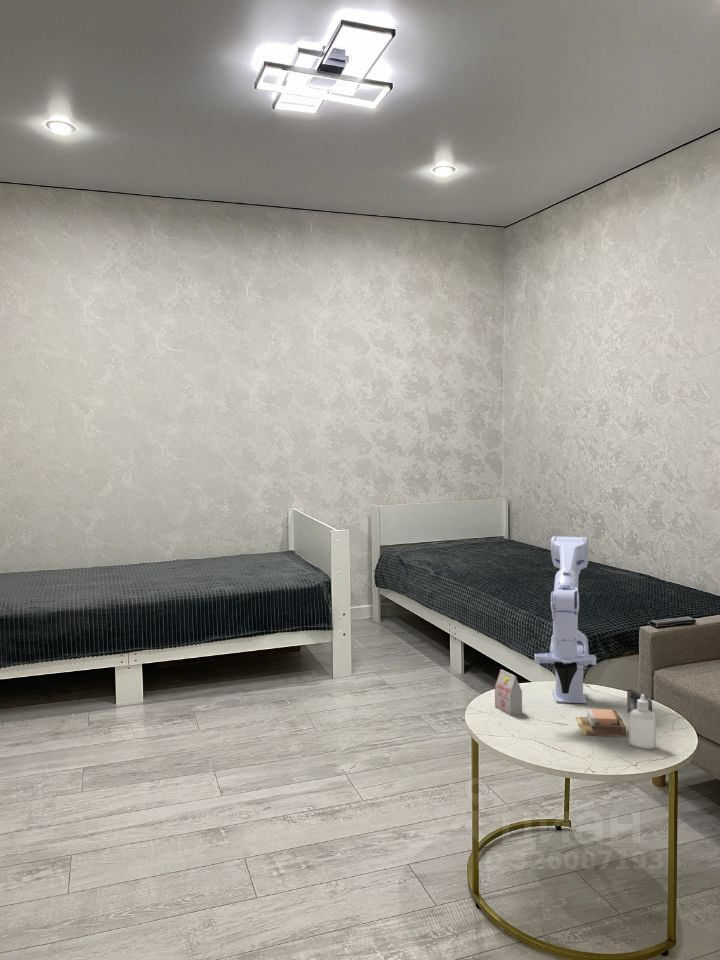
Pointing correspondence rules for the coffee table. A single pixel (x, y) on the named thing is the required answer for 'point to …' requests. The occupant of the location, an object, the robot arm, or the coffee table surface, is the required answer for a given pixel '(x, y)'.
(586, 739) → the coffee table surface
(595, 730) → the tray
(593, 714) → the trolley
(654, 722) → the eye dropper bottle
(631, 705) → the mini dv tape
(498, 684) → the gable top carton
